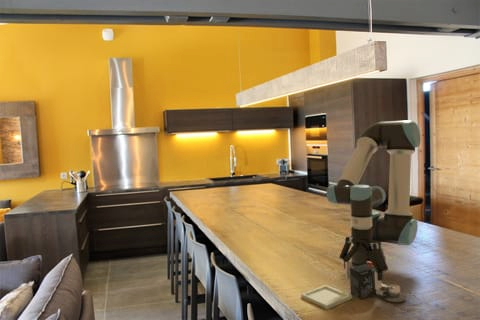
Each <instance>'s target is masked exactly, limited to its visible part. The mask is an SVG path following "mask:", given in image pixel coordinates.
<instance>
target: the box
mask: <svg viewBox="0 0 480 320" xmlns="http://www.w3.org/2000/svg"><path fill="white" fill-rule="evenodd" d="M375 271H377V270H376V269H375V268H374V267H372V266H370V265H367V264H364V265H360V266H358V265H355V266H352V267H350V278H349V280H350V281H349V282H350V283H349V284H350V285H349V286H350V295H352V297H354V298H356V299H358V300H362V299H363V300H364V299H366V298H370V297H373V296H377V290H376V289H375Z"/></svg>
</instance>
